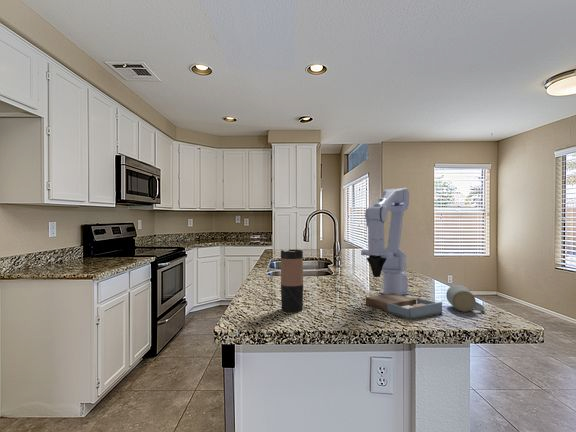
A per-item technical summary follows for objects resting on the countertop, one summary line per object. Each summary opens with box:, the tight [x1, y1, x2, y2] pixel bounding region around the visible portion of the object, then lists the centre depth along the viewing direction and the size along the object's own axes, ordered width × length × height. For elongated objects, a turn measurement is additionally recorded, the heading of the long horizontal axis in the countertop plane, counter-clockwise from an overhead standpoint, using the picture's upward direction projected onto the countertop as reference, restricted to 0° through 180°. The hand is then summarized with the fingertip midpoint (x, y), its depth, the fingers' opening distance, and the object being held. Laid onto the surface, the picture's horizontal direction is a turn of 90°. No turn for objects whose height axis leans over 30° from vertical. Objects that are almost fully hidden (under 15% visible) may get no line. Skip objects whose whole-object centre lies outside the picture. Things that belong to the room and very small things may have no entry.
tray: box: [386, 297, 443, 320], centre depth 106 cm, size 14×9×4 cm, turn 117°
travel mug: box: [280, 249, 304, 313], centre depth 111 cm, size 8×8×20 cm
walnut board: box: [365, 293, 417, 312], centre depth 115 cm, size 13×11×2 cm
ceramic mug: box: [445, 284, 486, 313], centre depth 109 cm, size 11×8×8 cm
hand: (376, 276), depth 119 cm, fingers closed
